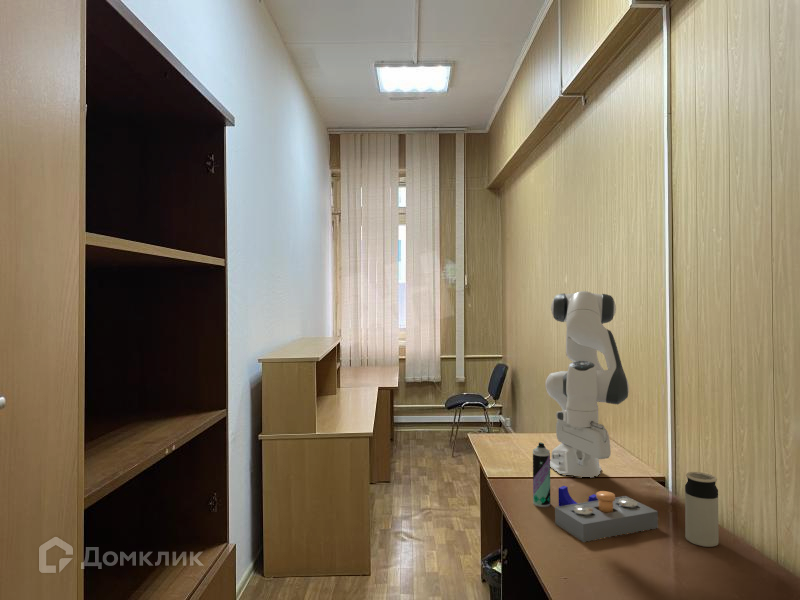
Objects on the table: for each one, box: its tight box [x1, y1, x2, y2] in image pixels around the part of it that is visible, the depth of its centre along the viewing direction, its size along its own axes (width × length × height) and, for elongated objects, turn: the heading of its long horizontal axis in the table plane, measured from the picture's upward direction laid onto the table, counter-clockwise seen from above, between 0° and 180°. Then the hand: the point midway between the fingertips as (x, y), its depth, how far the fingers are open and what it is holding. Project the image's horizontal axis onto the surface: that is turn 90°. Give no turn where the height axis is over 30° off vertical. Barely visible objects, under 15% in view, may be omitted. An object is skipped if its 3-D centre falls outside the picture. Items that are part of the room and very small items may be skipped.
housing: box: [554, 495, 659, 543], centre depth 158 cm, size 13×26×5 cm, turn 109°
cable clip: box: [558, 485, 598, 507], centre depth 171 cm, size 12×4×6 cm, turn 43°
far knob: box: [618, 497, 638, 510], centre depth 161 cm, size 5×5×6 cm
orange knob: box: [595, 490, 616, 513], centre depth 158 cm, size 5×5×6 cm
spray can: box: [532, 442, 551, 508], centre depth 176 cm, size 6×6×20 cm
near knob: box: [574, 505, 593, 517], centre depth 156 cm, size 5×5×6 cm
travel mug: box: [684, 471, 719, 548], centre depth 148 cm, size 8×8×18 cm
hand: (582, 465), depth 156 cm, fingers closed
